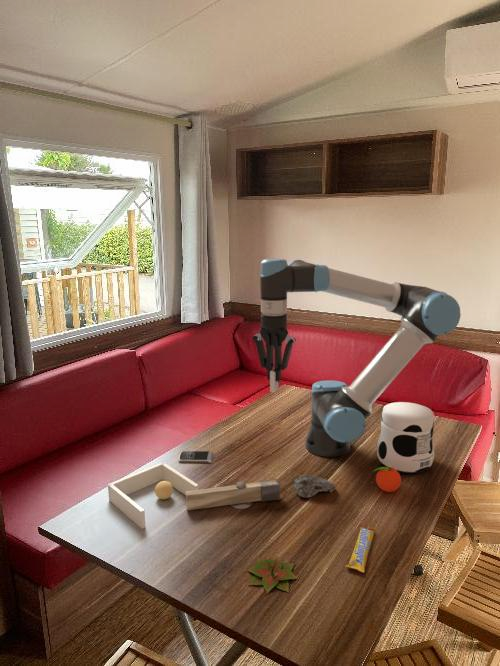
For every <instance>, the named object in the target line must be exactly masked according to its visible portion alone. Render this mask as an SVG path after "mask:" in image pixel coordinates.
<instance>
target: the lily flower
mask: <svg viewBox="0 0 500 666" xmlns="http://www.w3.org/2000/svg"><path fill="white" fill-rule="evenodd" d="M267 556H268V558H269V559H268V558H264V557H262V558H261V557H260V558H259V557H256V564H255V565H253V566H252V567H250V568H249V569H248V568H247V569H246V571H247V572H250V573H251V574H254V575H253V576H252V577H251V579H250V580H249V583H248V584H247V586H253V585H254V586H263V588H264V590H265V592H266V594H269V593H270V592H271V590H272V589H274V588H276V589H278V590H281V591H284V592H287V593H290V592H289V589H290V587H289V586H290V584H289V581H288V580H298V579H299V578H298V577H297V576H296V575H295V574H294V572H292V570H293V569H294V565H296V563H292V562H282V561H281V559H280V558H279V556H276V557H275V556H274V554H273V558H271V557H270V556H269V555H267ZM267 573H270V575H271V576H274V575H275V573H276V574H277V576H275V577H274V578H272V579H271V578H270V577H269V576H268V575H267ZM261 578H262V579H261ZM260 579H261V580H260ZM279 581H281V584H278V583H279Z"/></svg>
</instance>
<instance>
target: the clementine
mask: <svg viewBox="0 0 500 666" xmlns="http://www.w3.org/2000/svg"><path fill="white" fill-rule="evenodd" d="M375 471H377V473H376V475H375V482H376V484H377V487H379V489H380V490H382V491H383V492H386V493H392V492H395V491H397V490H398V489H399V488H400V487H401V484H402V477H401V475H400V472H398V471H397V470H395V469H394V468H392V467H386V466H380V467H378V468H375V469H374V470H373V472H375Z"/></svg>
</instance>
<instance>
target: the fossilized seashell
mask: <svg viewBox="0 0 500 666" xmlns="http://www.w3.org/2000/svg"><path fill="white" fill-rule="evenodd" d="M335 486H336V485H335V483H334V482H333V481H330V480H328V479H327V478H323V477H319V476H311V475H304V474H303V475H302V474H301V475H298V477H297V478H295V479H294V490H295V492H296V493H297V495H298V496H300V497H302V498H312V497H314V496H316V495H317V494H318V493H319V492H320V493H321V492H328V493H332V492H333V491H334V490H335V489H336V487H335Z"/></svg>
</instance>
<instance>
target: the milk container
mask: <svg viewBox="0 0 500 666" xmlns="http://www.w3.org/2000/svg"><path fill="white" fill-rule="evenodd" d="M434 428H435V415H434V411H432V409H430V408H429V407H427V406H425V405H422V404H418V403H415V402H414V403H413V402H408V401H407V402H406V401H397V402H396V401H395V402H391V403H387V404H386V405H384V406H383V408H382V413H381V420H380V434H379V437H378V441H377V443H376V455H377V458H378V460H379V462H380V463H381V464H382V465H384V467H392V468H394V469H395V470H397V471H398V473H402V474H418V473H422V472H425V471H427V470H429V469H430V468H431V466H432V465H433V462H434V459H435V447H434V442H433V441H434V439H433V437H434V436H433V435H434Z"/></svg>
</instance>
